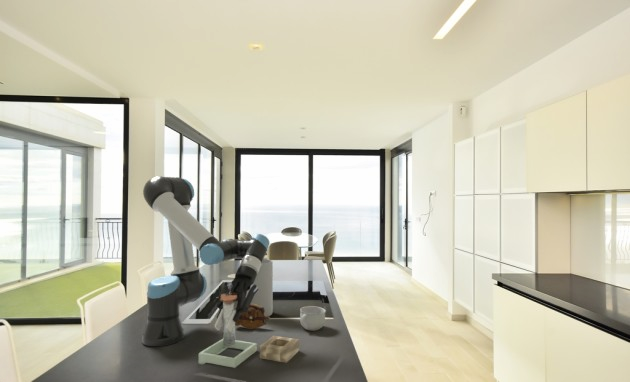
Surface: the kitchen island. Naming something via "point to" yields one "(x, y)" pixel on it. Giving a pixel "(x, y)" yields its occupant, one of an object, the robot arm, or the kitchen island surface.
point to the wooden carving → (252, 317)
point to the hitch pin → (228, 317)
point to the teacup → (312, 317)
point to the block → (279, 348)
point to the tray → (212, 356)
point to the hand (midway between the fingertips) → (222, 329)
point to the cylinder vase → (264, 287)
